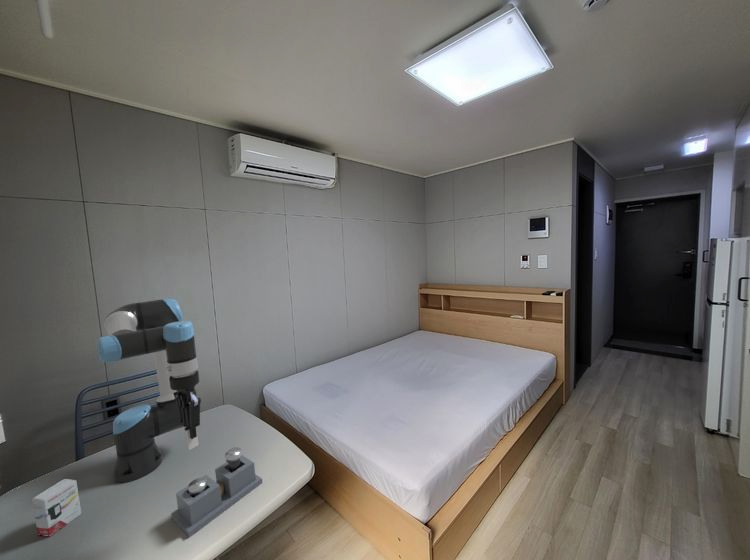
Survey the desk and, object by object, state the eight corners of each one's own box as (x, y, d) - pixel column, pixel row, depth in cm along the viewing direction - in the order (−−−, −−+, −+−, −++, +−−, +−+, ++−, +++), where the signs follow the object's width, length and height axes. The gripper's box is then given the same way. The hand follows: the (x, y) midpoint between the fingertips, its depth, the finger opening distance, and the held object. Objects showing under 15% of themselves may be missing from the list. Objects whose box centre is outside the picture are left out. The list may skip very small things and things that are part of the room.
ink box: (49, 537, 89) (42, 501, 88) (37, 535, 90) (30, 499, 89) (82, 513, 97) (77, 479, 96) (70, 511, 98) (65, 477, 97)
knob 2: (224, 475, 103) (222, 453, 103) (238, 466, 107) (236, 445, 107) (232, 481, 100) (230, 459, 100) (246, 472, 104) (243, 450, 104)
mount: (171, 518, 93) (168, 494, 92) (243, 470, 113) (241, 450, 112) (189, 537, 86) (186, 512, 86) (262, 482, 106) (260, 461, 105)
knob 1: (188, 509, 94) (185, 485, 93) (204, 498, 98) (201, 475, 97) (195, 516, 91) (192, 492, 90) (212, 504, 95) (209, 481, 94)
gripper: (160, 373, 91) (170, 446, 93) (179, 382, 84) (189, 461, 86) (187, 365, 97) (195, 433, 99) (207, 372, 90) (215, 446, 92)
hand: (192, 446), depth 93 cm, fingers closed
